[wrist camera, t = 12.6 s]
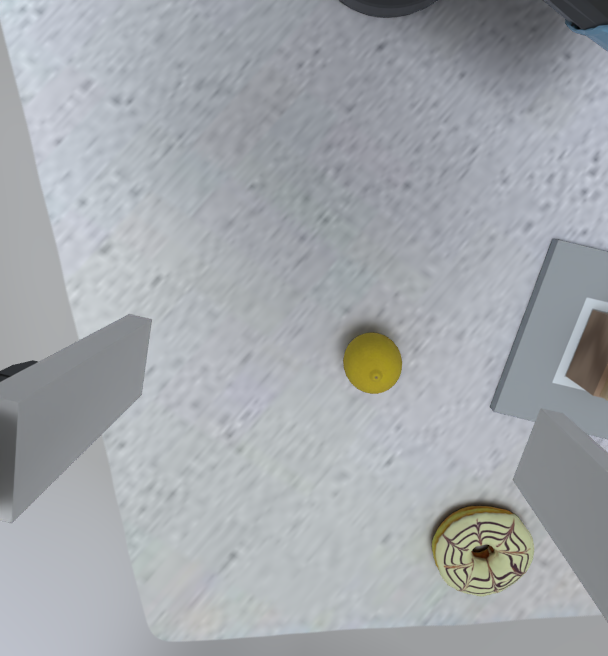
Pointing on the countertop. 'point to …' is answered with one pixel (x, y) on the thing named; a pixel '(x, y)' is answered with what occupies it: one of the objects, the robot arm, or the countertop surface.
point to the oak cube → (605, 391)
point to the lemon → (372, 363)
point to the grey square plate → (557, 340)
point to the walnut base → (592, 356)
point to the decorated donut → (490, 565)
